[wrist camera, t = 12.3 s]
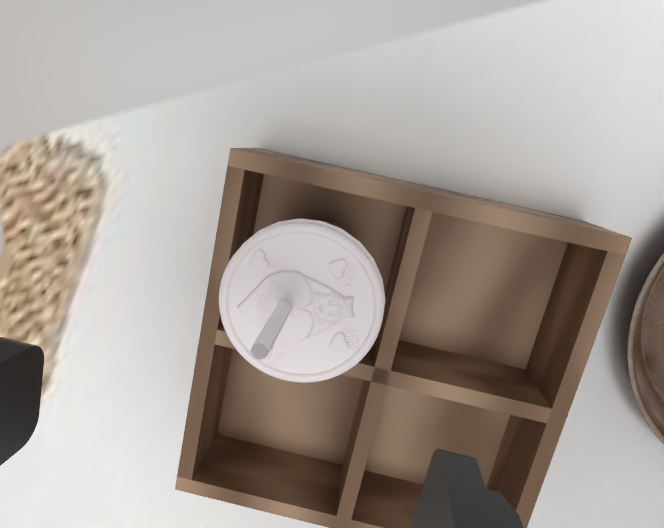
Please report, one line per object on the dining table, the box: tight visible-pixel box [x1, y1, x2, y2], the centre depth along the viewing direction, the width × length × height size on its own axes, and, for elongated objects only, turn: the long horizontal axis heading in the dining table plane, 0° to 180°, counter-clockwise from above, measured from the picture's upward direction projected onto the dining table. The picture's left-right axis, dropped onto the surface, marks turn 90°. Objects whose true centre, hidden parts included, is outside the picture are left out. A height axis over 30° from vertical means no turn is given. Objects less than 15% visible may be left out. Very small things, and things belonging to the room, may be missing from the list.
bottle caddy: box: [175, 148, 632, 528], centre depth 28 cm, size 18×18×6 cm
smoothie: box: [219, 219, 385, 383], centre depth 22 cm, size 6×6×14 cm
